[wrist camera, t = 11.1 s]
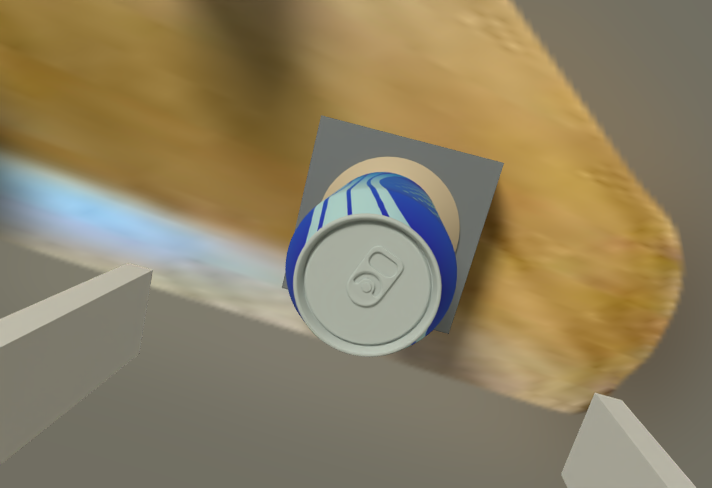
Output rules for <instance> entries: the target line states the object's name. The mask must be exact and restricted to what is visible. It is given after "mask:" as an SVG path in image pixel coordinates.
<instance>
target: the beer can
mask: <svg viewBox="0 0 712 488" xmlns="http://www.w3.org/2000/svg"><path fill="white" fill-rule="evenodd" d="M286 281H287V287H288V290H289V294H290V297H291V300H292V302H293V304H294V306H295V308H296V310H297V312H298V313H299V315H300V317H301V318H302V319H303V321H304V322H305V323H306V325H307V326H308V327H309V329H310V330H311V331H312V332H313V333H314V334H315V335H316V336H317V337H318V338H319V339H320V340H322V341H323V342H324V343H326V344H327V345H329V346H330V347H333V348H334V349H336V350H339V351H341V352H344V353H347V354H350V355H355V356H363V357H376V356H383V355H388V354H392V353H394V352H397V351H400V350H402V349H404V348H407V347H409V346H411V345H413V344H415V343H416V342H418V341H420V340H421V339H423V338H424V337H425V336H427V335H428V334H429V333H430V332H431V331H432V330H433V329H434V328H435V327H436V326H437V325H438V324H439V323H440V321H441V320H442V319H443V317H444V316H445V314H446V312H447V311H448V309H449V306H450V304H451V302H452V299H453V296H454V293H455V288H456V282H457V262H456V256H455V251H454V248H453V245H452V242H451V240H450V237H449V235H448V233H447V231H446V229H445V227H444V225H443V223H442V221H441V219H440V216H439V214H438V212H437V210H436V208H435V206H434V204H433V202H432V200H431V199H430V197H429V196H428V194H427V193H426V192H425V191H424V190H423V189H422V188H421V187H420V186H419V185H418V184H417V183H415V182H414V181H412V180H410V179H409V178H407V177H404V176H402V175H399V174H395V173H390V172H374V173H369V174H365V175H362V176H360V177H357V178H355V179H354V180H352V181H350V182H349V183H347V184H346V185H345V186H343V187H342V188H340V189H339V190H338V191H336V192H335V193H333V194H332V195H331V196H329V197H328V198H326V199H325V200H323V201H322V202H321V203H319V204H318V205H317V206H315V207H314V208H313V209H312V210H311V211H310V212H309V213H308V214H307V215H306V216H305V217H304V219H303V220H302V221H301V223H300V224H299V226H298V227H297V229H296V231H295V233H294V235H293V237H292V239H291V242H290V245H289V248H288V252H287V258H286Z"/></svg>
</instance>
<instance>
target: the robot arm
mask: <svg viewBox="0 0 712 488" xmlns="http://www.w3.org/2000/svg"><path fill="white" fill-rule="evenodd" d="M152 272H153V270H151V269H148V268H144V267H141V266H137V265H134V264H130V263H127V264H125V265H122V266H120V267H118V268H115V269H113V270H111V271H109V272H106V273H104V274H102V275H99V276H97V277H95V278H93V279H90V280H88V281H86V282H83V283H81V284H79V285H77V286H74V287H72V288H70V289H67V290H65V291H63V292H61V293H58V294H56V295H54V296H51V297H49V298H47V299H45V300H42V301H40V302H38V303H36V304H33V305H31V306H28V307H26V308H24V309H22V310H19V311H17V312H15V313H12V314H10V315H8V316H6V317H3V318H1V319H0V465H1V464H3V463H4V462H5V461H6V460H8V459H9V458H10V457H11V456H13V455H14V454H15V453H16V452H18V451H19V450H20V449H21V448H23V447H24V446H25V445H26V444H27V443H29V442H30V441H31V440H32V439H34V438H35V437H36V436H37V435H38V434H40V433H41V432H42V431H44V430H45V429H46V428H47V427H48V426H50V425H51V424H52V423H54V422H55V421H56V420H57V419H59V418H60V417H61V416H62V415H64V414H65V413H66V412H67V411H69V410H70V409H71V408H72V407H74V406H75V405H76V404H77V403H79V402H80V401H81V400H82V399H84V398H85V397H86V396H87V395H89V394H90V393H91V392H92V391H94V390H95V389H96V388H97V387H98V386H100V385H101V384H102V383H104V382H105V381H106V380H107V379H109V378H110V377H111V376H112V375H114V374H115V373H116V372H117V371H118V370H120V369H121V368H122V367H123V366H125V365H126V364H127V363H129V362H130V361H131V360H132V359H134V358H135V357H136V356H137V355H139V352H140V347H141V340H142V334H143V327H144V322H145V316H146V309H147V303H148V297H149V291H150V284H151V278H152ZM561 475H562V477H563V479H564V481H565V483H566V485H567V488H696V487H695V486H694V484H693V483H692V482H691V481H690V480H689V479H688V477H687V476H686V475H685V474H684V473H683V472H682V470H681V469H680V468H679V467H678V466H677V465H676V463H675V462H674V461H673V460H672V459H671V458H670V457H669V455H668V454H667V453H666V452H665V451H664V449H663V448H662V447H661V446H660V445H659V443H658V442H657V441H656V440H655V439H654V438H653V436H652V435H651V434H650V433H649V432H648V431H647V429H646V428H645V427H644V426H643V425H642V423H641V422H640V421H639V420H638V419H637V418H636V416H635V415H634V414H633V413H632V412H631V411H630V409H629V408H628V407H627V406H626V405H625V404H624V402H623V401H622V400H619V399H615V398H612V397H608V396H604V395H601V394H597V393H595V394H594V396H593V399H592V401H591V404H590V406H589V408H588V411H587V413H586V416H585V418H584V420H583V423H582V425H581V428H580V430H579V432H578V435H577V438H576V440H575V442H574V445H573V447H572V449H571V452H570V454H569V457H568V459H567V461H566V464H565V467H564V469H563V471H562V473H561Z"/></svg>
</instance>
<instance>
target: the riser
mask: <svg viewBox="0 0 712 488" xmlns="http://www.w3.org/2000/svg"><path fill="white" fill-rule="evenodd" d="M503 164H504V163H502V162H498V161H494V160H490V159H486V158H482V157H479V156H475V155H471V154H467V153H463V152H459V151H456V150H452V149H448V148H444V147H440V146H436V145H433V144H429V143H425V142H421V141H417V140H413V139H410V138H406V137H402V136H398V135H394V134H390V133H386V132H383V131H379V130H375V129H371V128H367V127H363V126H360V125H356V124H352V123H348V122H344V121H340V120H337V119H333V118H329V117H325V116H321V119H320V123H319V128H318V132H317V136H316V141H315V145H314V150H313V154H312V158H311V163H310V167H309V171H308V176H307V180H306V185H305V189H304V193H303V198H302V202H301V206H300V211H299V215H298V220H297V224H296V228H295V231H296V229H297V227H298V226H299V224H300V223H301V221H302V220H303V219H304V217H305V216H306V215H307V214H308V213H309V212H310V211H311V210H312V209H313V208H314V207H315V206H317V205H318V204H319V203H321V202H322V201H323V200H325V199H326V198H328V197H329V196H331V195H332V194H333V193H335V192H336V191H338V190H339V189H340V188H342V187H343V186H345V185H346V184H347V183H349V182H350V181H352V180H354V179H355V178H357V177H360V176H362V175H365V174H369V173H374V172H390V173H395V174H399V175H402V176H404V177H407V178H409V179H410V180H412V181H414V182H415V183H417V184H418V185H419V186H420V187H421V188H422V189H423V190H424V191H425V192H426V193H427V194H428V196H429V197H430V199H431V200H432V202H433V204H434V206H435V208H436V210H437V212H438V214H439V216H440V219H441V221H442V223H443V225H444V227H445V229H446V231H447V233H448V235H449V237H450V240H451V242H452V245H453V248H454V251H455V256H456V262H457V282H456V288H455V293H454V296H453V299H452V302H451V304H450V306H449V309H448V311H447V312H446V314H445V316H444V317H443V319H442V320H441V321H440V323H439V324H438V325H437V326H436V327H435V328H434V329H433V330H436V331H440V332H444V333H447V334H449V331H450V328H451V325H452V322H453V319H454V316H455V313H456V310H457V307H458V303H459V300H460V297H461V294H462V291H463V288H464V285H465V282H466V279H467V276H468V272H469V269H470V266H471V263H472V260H473V257H474V254H475V251H476V248H477V245H478V242H479V238H480V235H481V232H482V229H483V226H484V223H485V220H486V217H487V214H488V211H489V208H490V204H491V201H492V198H493V195H494V192H495V189H496V186H497V183H498V180H499V177H500V174H501V170H502V167H503ZM282 288H285V289H288V287H287V281H286V272H285V276H284V281H283V285H282Z"/></svg>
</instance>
